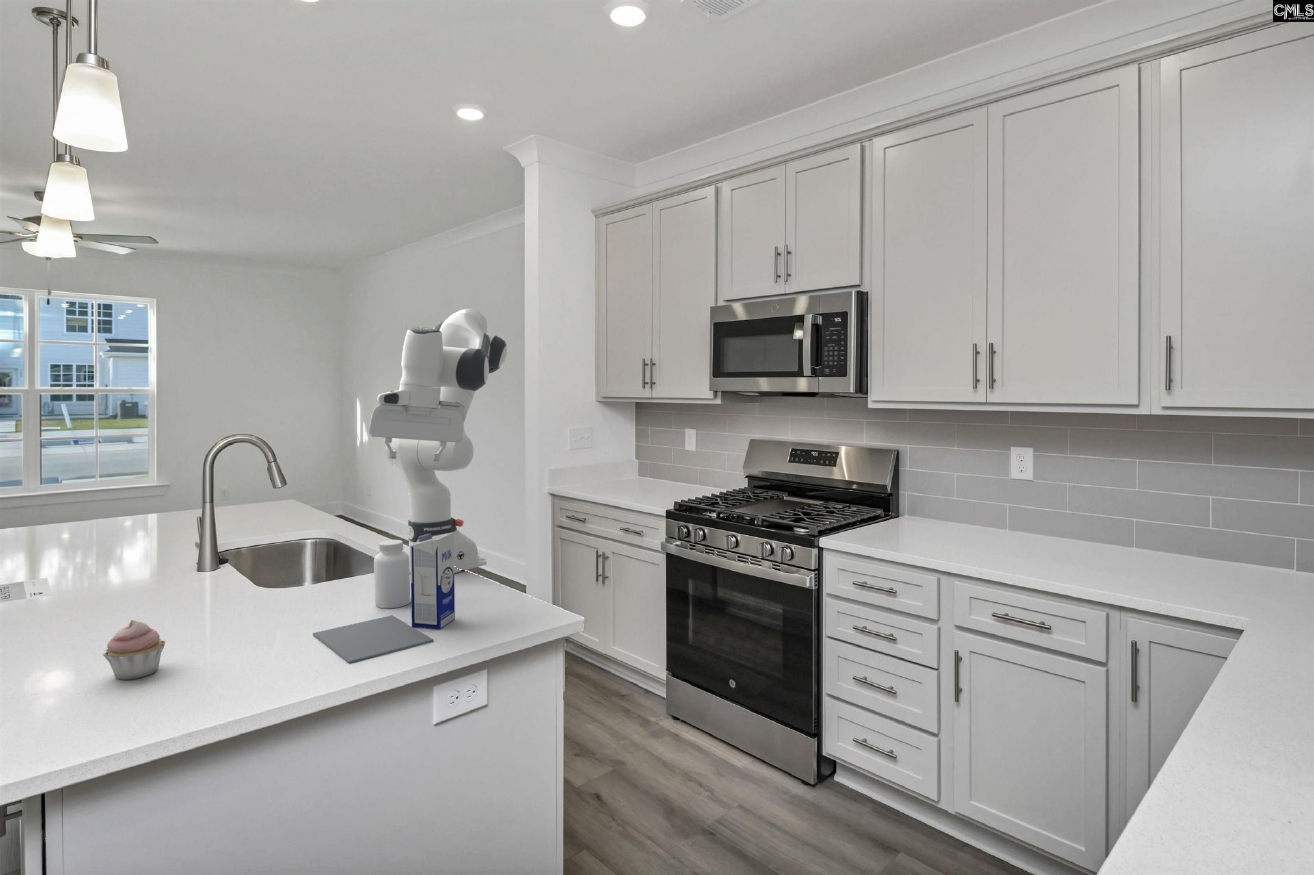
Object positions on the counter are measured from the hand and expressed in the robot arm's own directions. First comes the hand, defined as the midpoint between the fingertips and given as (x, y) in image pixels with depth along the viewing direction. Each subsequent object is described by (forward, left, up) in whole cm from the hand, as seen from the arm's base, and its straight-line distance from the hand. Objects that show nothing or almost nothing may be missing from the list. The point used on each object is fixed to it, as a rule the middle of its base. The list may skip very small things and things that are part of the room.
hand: (414, 459), depth 162 cm
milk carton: (+1, +10, -36) cm, 37 cm away
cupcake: (+53, -1, -36) cm, 64 cm away
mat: (+14, +10, -35) cm, 39 cm away
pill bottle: (+2, -9, -36) cm, 37 cm away
